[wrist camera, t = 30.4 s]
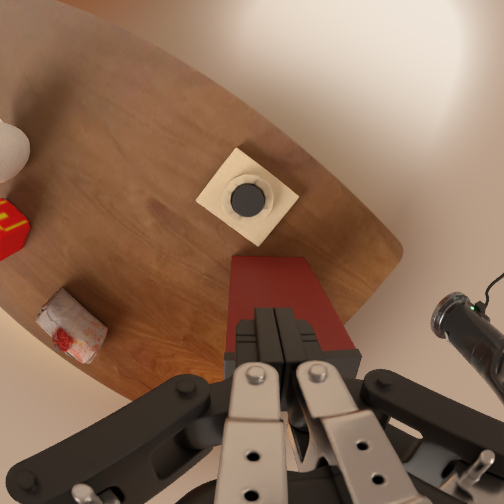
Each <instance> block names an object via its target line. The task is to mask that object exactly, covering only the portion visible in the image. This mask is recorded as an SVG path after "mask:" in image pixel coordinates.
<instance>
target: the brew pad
mask: <svg viewBox="0 0 504 504" xmlns="http://www.w3.org/2000/svg"><path fill="white" fill-rule="evenodd" d="M243 185H253V186H255V187H257V188H258V189H259V190H260V191H261V193H262V195H263V197H264V206H263V208H262V210H261V211H260V212H259V213H258V214H257V215H255V216H252V217H244V216H241V215H240V214H238V213H237V212H236V211H235V209H234V207H233V204H232V199H233V195H234V192H235V191H236V190H237V189H238V188H239V187H241V186H243ZM298 198H299V196H298V195H297V194H296V193H294V192H293V191H292V190H291V189H289V188H288V187H287V186H286V185H284V184H283V183H282V182H281V181H279V180H278V179H277V178H276V177H274V176H273V175H272V174H271V173H269V172H268V171H267V170H266V169H264V168H263V167H262V166H260V165H259V164H258V163H257V162H255V161H254V160H253V159H251V158H250V157H249V156H247V155H246V154H245V153H243V152H242V151H241V150H239V149H238V148H237V147H236V148H235V149H234V151H233V152H232V153H231V154H230V156H229V157H228V158H227V160H226V161H225V162H224V163H223V165H222V166H221V167H220V169H219V170H218V171H217V172H216V174H215V175H214V176H213V178H212V179H211V180H210V182H209V183H208V184H207V186H206V187H205V188H204V190H203V191H202V192H201V194H200V195H199V196H198V198H197V199H196V201H197V202H198V203H199V204H201V205H202V206H203V207H205V208H206V209H207V210H209V211H210V212H211V213H213V214H214V215H216V216H217V217H218V218H220V219H221V220H222V221H224V222H225V223H226V224H228V225H229V226H230V227H232V228H233V229H235V230H236V231H237V232H239V233H240V234H241V235H243V236H244V237H245V238H247V239H248V240H249V241H251V242H252V243H253V244H255V245H256V246H258V247H259V246H260V245H261V243H262V242H263V241H264V240H265V239H266V237H267V236H268V235H269V234H270V232H271V231H272V230H273V229H274V228H275V226H276V225H277V224H278V223H279V221H280V220H281V219H282V218H283V217H284V215H285V214H286V213H287V212H288V210H289V209H290V208H291V207H292V206H293V204H294V203H295V202H296V201H297V199H298Z"/></svg>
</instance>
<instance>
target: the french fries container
mask: <svg viewBox="0 0 504 504" xmlns="http://www.w3.org/2000/svg"><path fill="white" fill-rule="evenodd" d="M29 223H30V221H29V220H28V219H27V218H26V217H25V216H24V215H23V214H22V213H21V212H20V211H19V210H18V209H17V208H16V207H15V206H14V205H13V204H12V203H11V202H9V201H8V200H4V199H3V198H1V199H0V261H2V260H3V259H5V258H7V257H8V256H10V255H12V254H13V253H15V252H17V251H19V250H20V249H22V248H23V247H24V244H25V242H26V239H27V236H28V234H29V231H30V229H31V226H30V224H29Z"/></svg>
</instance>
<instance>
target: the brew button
mask: <svg viewBox="0 0 504 504" xmlns="http://www.w3.org/2000/svg"><path fill="white" fill-rule="evenodd" d="M232 204H233V207H234V209H235V211H236V212H237V213H238V214H240V215H241V216H244V217H252V216H255V215H257V214H258V213H259V212H260V211H261V210H262V208H263V206H264V197H263V195H262V193H261V191H260V190H259V189H258V188H257V187H255V186H253V185H243V186H241V187H239V188H238V189H237V190H236V191H235V192H234V195H233V199H232Z"/></svg>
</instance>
